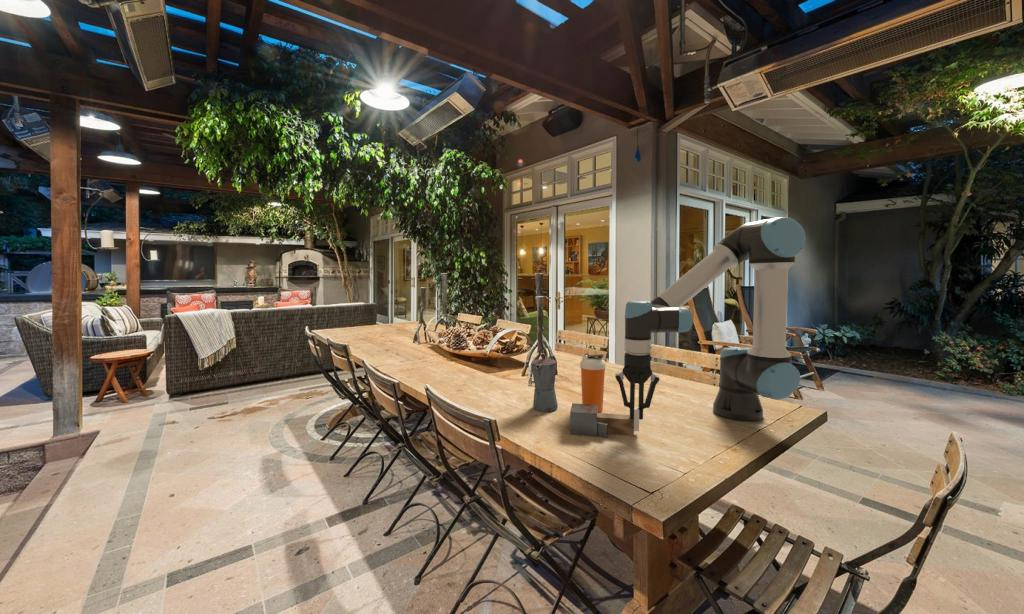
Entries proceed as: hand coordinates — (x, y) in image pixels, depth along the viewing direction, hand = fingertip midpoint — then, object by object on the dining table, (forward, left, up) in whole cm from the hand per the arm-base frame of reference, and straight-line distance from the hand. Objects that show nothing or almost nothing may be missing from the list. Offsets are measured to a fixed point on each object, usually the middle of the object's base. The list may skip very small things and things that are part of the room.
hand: (636, 429), depth 123 cm
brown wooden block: (+8, -1, -2) cm, 8 cm away
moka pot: (+31, -19, -2) cm, 36 cm away
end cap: (+14, 0, -2) cm, 14 cm away
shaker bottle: (+14, -20, -2) cm, 24 cm away
